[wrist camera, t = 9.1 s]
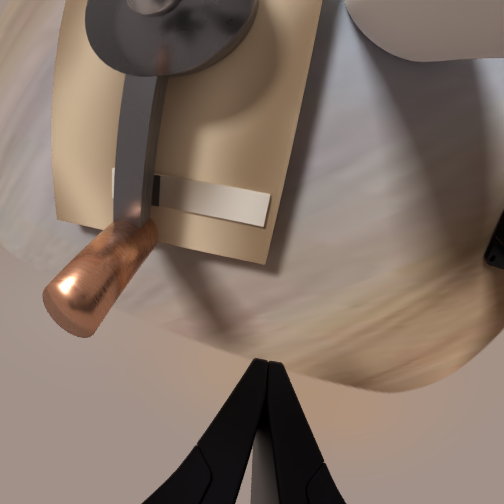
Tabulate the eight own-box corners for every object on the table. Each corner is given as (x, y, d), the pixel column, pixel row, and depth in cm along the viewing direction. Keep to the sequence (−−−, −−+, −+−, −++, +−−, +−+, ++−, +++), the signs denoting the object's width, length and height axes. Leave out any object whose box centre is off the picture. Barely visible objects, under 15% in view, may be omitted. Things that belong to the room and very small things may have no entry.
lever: (129, -50, 8) (38, -96, 2) (275, -49, 8) (258, -142, 2) (89, 229, 16) (12, 305, 10) (203, 261, 16) (156, 366, 10)
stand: (327, -36, 9) (331, -49, 7) (267, 250, 17) (264, 267, 16) (91, -33, 9) (74, -40, 7) (70, 209, 17) (54, 221, 16)
